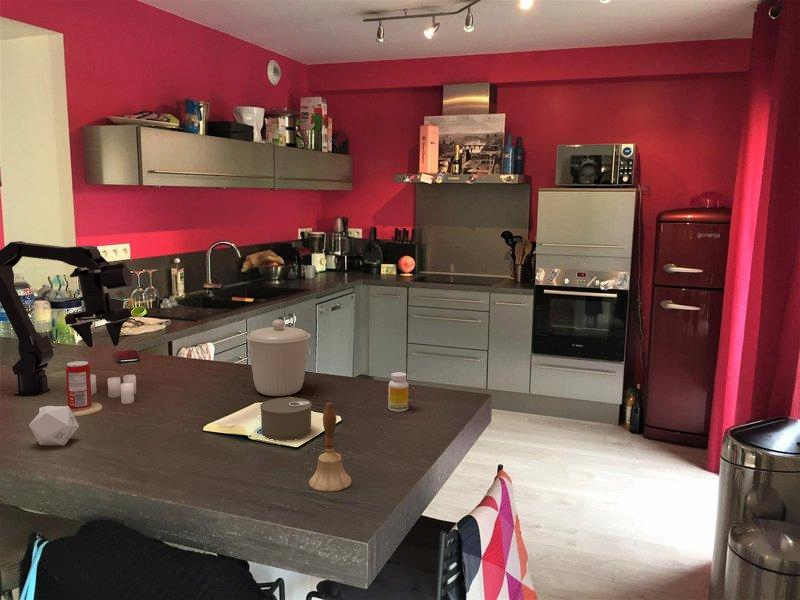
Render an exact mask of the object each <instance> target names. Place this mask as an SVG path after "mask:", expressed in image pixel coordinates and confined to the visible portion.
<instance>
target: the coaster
mask: <svg viewBox="0 0 800 600" xmlns="http://www.w3.org/2000/svg"><path fill="white" fill-rule="evenodd" d="M65 406H68V404H66V405H65ZM102 408H103V406H102V404H101V403H98V402H93V401H92V405H91V406H90V408H88V409H85V410H71V412H72V413H73V415H74V417H80V416H88V415H92V414H95V413H98V412H100V411H101V410H102Z"/></svg>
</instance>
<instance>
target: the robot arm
mask: <svg viewBox="0 0 800 600" xmlns="http://www.w3.org/2000/svg"><path fill="white" fill-rule="evenodd" d="M22 258H31V259H32V258H34V259H40V260H41V259H42V260H50V261H58V262H62V263H64V264H67V265H69V266H73V267H75V268H74V270H73V272H72V273H70V274H69V277H70V278H77V277H78V282H79V286H80V291H81V292H80V293H81V296H79V297H78V301H79V302H83V308H84V310H78V311H75V312H70V313H67V314H66V315H65V317H64V322H65V325H69V327H70V328H71V329H73V330H74V332H76V334H78V336H79V337H80V338H81V339H82V341H83V342H84V343H85V344H86V345H87V347H88V348H92V347H93V346H94V344H93V343H94V341H93V335H92V325H93V322H94V320H104V321H106V322H105V323H104V325H105V328H106V330H107V332H108V334H109V339H110V340H111V343H112V345H113V346H114V347H117V346H119V343H120V336H121V332H122V327H123V326H124V324H125V323H126V322H128V320H129V318H130V319H131V318H132V313H131V310H130V308H128V307H124V305H125V304H124V303H125V301H124V300H122V299H118V298H114V297H113V298H112V297H111V296H110V293H109V292H106V291H105V288H106V290H107V289H108V290H115V289H121V288H122V289H123V288H129V287H131V286H132V284H133V275H132V273H131V271H130V268H129V267H128V266H127V263H126V262H124V261H123V262H118V263H116V264H114V263H113V264H111V263H109V262H108V261H107V260H106V258H104V257H103V256H102V254H101V251H100V249H98V247H97V246H95V245H79V246H78V245H77V246H76V245H75V246H61V245H60V246H59V245H49V244H41V243H32V242H25V241H22V240H19V241H18V240H16V241H10V242H9V243H8V244H6V245H5V246H4V247H3V248H1V249H0V305H1V307H2V309H3V311H4V313H5V315H6V318H7V319H8V322H9V323H10V325H11V328H12V329H13V332H14V333H15V335H16V337H17V342H18V343H17V344H18V347H17V348H18V349H17V352H18V355H19V360H17V362H16V363H15V364H14V365H13V366H12V367H11V370H12V371H13V375H16V377H17V379H16V380H17V390H18V391H16V392H14V395H15V396H39V395H41V394H43V393H45V392H47V391H49V390H50V387H49V385H48V384H49V383H48V375H47V374H46V368H48V365H49V362H51V361H52V359H53V356H55V355H54V354H55V353H54V349H55V346H54V345H53V344H52V343H51V341H50V340H51V339H50V338H49V336H48V335H47V334H46V335H43V336H42V335H40V333H38V332H37V329H36V328H35V326H34V324H33V322H32V320H31V318H30V316H29V314H28V313H29V312H28V311H27V309H26V307H25V306H24V304H23V302H22V300H21V297H20V295H19V293H18V290H17V289H16V286H15V273H14V267H15V266H16V265H17V264H18V263H20V261H21V259H22ZM99 270H100V271H99Z"/></svg>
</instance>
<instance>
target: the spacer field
mask: <svg viewBox="0 0 800 600" xmlns="http://www.w3.org/2000/svg"><path fill="white" fill-rule="evenodd" d="M96 377H97V376H96V374H91V373H90V379H91V396H92V395H96V394H97V379H96ZM136 380H137V377H136V374H126V375H123V382H122V383H121V377H120V376H118V377H117V376H112V377H108V378H107V390H108V391H107V392H108V393H107V394H108V395H107V396H108V398H112V399H115V398H120V399H121V400H120V402H121V404H124V405H125V404H126V405H127V404H133V403H135V395H136V394H137V381H136ZM44 407H45V406H41V407H39V409H38V410H39V412H38V414H39V413H40V412H41V410H42V409H43V408H44Z"/></svg>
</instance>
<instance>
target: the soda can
mask: <svg viewBox="0 0 800 600" xmlns="http://www.w3.org/2000/svg"><path fill="white" fill-rule="evenodd" d="M65 368H66V369H65V376H66V377H65V378H66V379H65V380H66V381H65V382H66V395H67V396H66V398H67V399H66V400H67V405H68V406H69V408H70V410H85V409H88V408H90V406H91V405H92V402H93V401H92V395H91V379H90V374H91V367H90V365H89V361H87V360H86V361H85V360H84V361H83V360H81V361H80V360H79V361H71V362H70V361H69V362H67V363H66V367H65Z"/></svg>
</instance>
